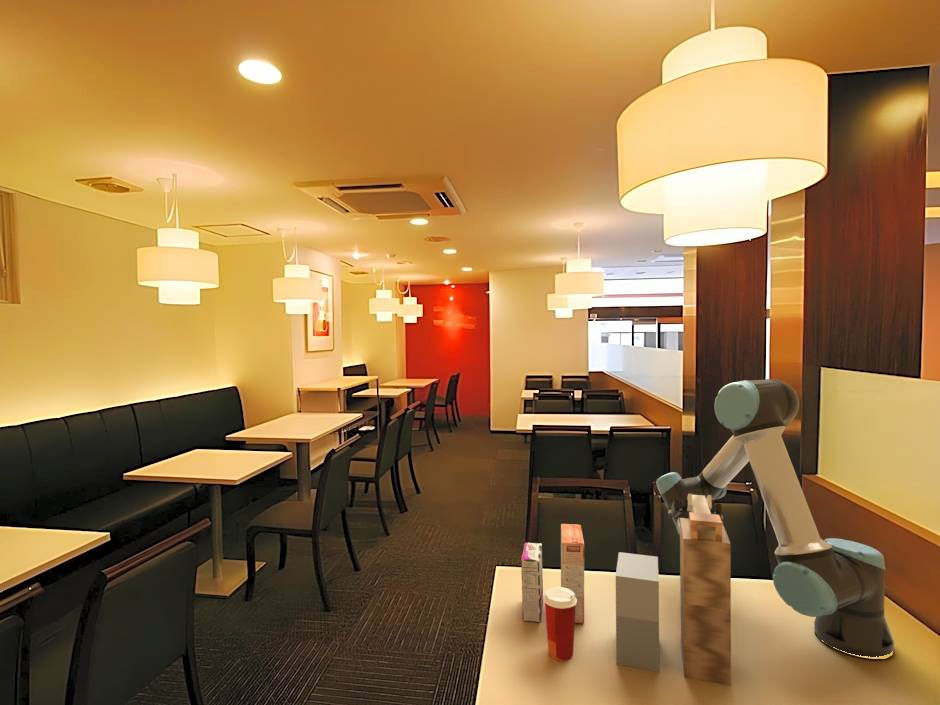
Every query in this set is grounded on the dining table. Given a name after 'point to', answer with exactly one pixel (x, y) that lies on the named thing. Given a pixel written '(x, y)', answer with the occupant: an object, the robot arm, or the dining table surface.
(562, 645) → the paper cup
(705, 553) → the tall tower
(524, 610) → the candy bar box
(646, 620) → the short tower
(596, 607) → the dining table surface
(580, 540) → the cracker box
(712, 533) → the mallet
